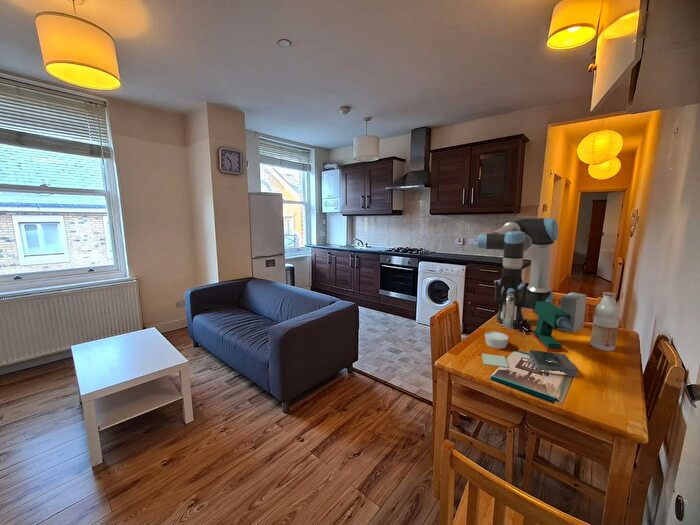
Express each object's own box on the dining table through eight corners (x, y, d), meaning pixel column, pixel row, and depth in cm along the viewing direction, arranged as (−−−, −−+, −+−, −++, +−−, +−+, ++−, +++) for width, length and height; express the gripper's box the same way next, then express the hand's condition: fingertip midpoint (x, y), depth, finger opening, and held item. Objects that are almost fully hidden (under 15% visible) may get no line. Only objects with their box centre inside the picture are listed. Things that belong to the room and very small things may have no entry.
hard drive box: (568, 323, 176) (571, 291, 173) (583, 327, 170) (587, 294, 167) (557, 329, 168) (560, 296, 164) (573, 333, 162) (577, 299, 158)
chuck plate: (529, 356, 137) (529, 349, 137) (564, 361, 133) (564, 354, 132) (537, 371, 124) (538, 364, 123) (576, 377, 120) (577, 369, 119)
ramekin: (494, 338, 157) (494, 329, 156) (513, 347, 147) (514, 337, 146) (479, 343, 152) (479, 333, 151) (498, 352, 142) (498, 341, 142)
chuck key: (504, 329, 127) (507, 296, 124) (500, 323, 134) (503, 291, 132) (514, 330, 125) (517, 297, 123) (510, 324, 133) (513, 292, 130)
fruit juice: (593, 349, 144) (600, 294, 139) (588, 341, 152) (594, 289, 147) (617, 352, 139) (626, 296, 135) (611, 345, 148) (619, 291, 143)
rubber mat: (481, 354, 140) (481, 353, 140) (504, 357, 137) (504, 356, 137) (483, 364, 131) (483, 363, 131) (508, 367, 128) (508, 367, 128)
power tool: (579, 366, 128) (584, 323, 125) (561, 365, 129) (566, 322, 126) (546, 336, 159) (549, 301, 155) (532, 335, 160) (535, 300, 157)
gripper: (492, 267, 124) (488, 319, 128) (537, 269, 119) (532, 323, 123) (489, 265, 131) (486, 314, 135) (532, 266, 126) (527, 317, 130)
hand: (508, 318), depth 129 cm, fingers closed on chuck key, 4 cm apart
